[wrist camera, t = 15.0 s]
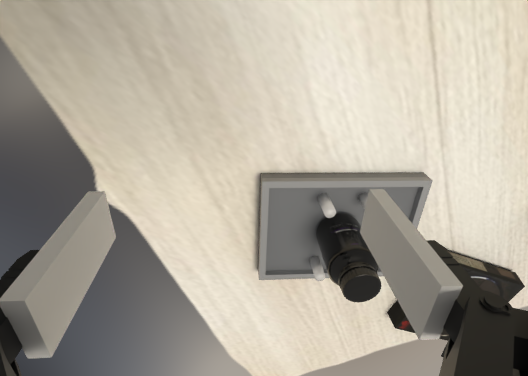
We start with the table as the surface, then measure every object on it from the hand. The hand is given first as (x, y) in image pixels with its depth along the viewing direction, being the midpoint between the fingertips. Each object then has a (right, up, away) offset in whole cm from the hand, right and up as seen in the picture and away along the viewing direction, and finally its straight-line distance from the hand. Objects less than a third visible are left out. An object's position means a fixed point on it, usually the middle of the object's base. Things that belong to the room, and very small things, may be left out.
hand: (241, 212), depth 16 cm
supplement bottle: (+12, -5, +33) cm, 36 cm away
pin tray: (+12, -4, +34) cm, 37 cm away
